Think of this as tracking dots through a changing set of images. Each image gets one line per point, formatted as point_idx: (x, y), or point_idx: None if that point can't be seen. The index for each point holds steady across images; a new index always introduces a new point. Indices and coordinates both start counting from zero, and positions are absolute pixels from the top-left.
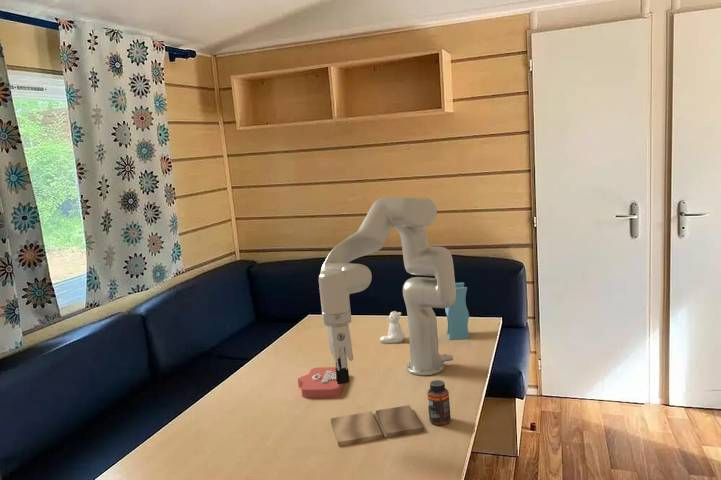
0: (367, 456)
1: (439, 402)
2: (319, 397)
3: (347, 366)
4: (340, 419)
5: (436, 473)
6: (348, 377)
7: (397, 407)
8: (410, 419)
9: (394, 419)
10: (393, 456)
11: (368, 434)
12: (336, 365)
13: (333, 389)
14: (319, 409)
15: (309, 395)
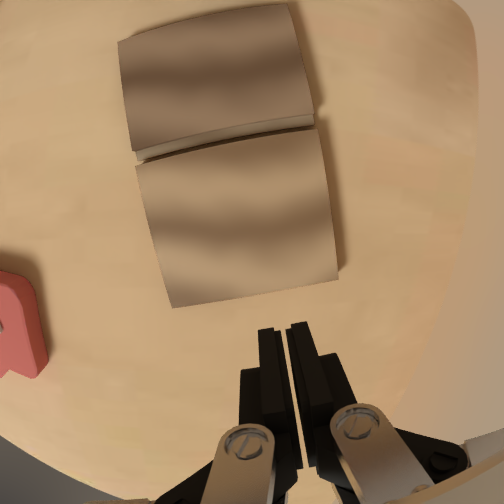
0: (407, 188)
1: None
2: (41, 329)
3: (394, 429)
4: (182, 276)
5: (476, 48)
6: (314, 345)
7: (124, 76)
8: (223, 31)
9: (212, 81)
10: (416, 116)
11: (311, 177)
12: (287, 497)
13: (20, 301)
14: (98, 332)
15: (43, 355)
